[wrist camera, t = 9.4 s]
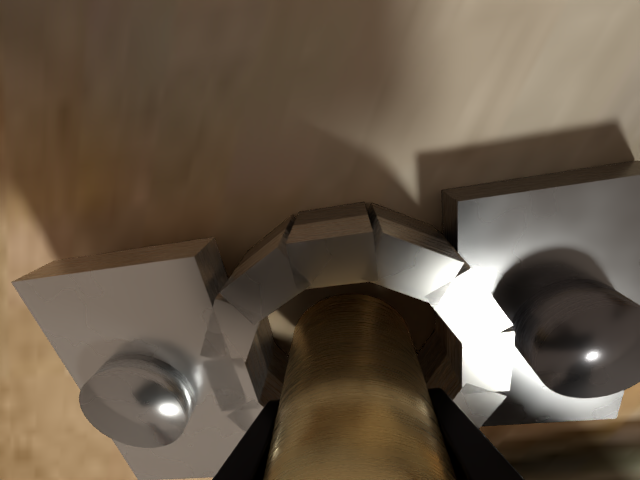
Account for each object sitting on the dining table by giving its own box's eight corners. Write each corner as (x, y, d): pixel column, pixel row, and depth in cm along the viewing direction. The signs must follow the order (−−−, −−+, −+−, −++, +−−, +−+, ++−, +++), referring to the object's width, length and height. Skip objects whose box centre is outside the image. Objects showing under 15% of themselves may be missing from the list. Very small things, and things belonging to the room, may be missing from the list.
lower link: (636, 160, 10) (756, 178, 7) (587, 387, 13) (652, 458, 11) (202, 226, 11) (158, 261, 9) (264, 409, 15) (248, 475, 12)
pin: (406, 287, 10) (692, 1014, 2) (413, 381, 12) (585, 1001, 4) (282, 301, 11) (90, 922, 2) (305, 390, 12) (235, 945, 4)
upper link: (475, 185, 10) (545, 220, 7) (470, 395, 14) (515, 489, 10) (86, 243, 12) (-18, 296, 9) (173, 416, 16) (126, 502, 12)
